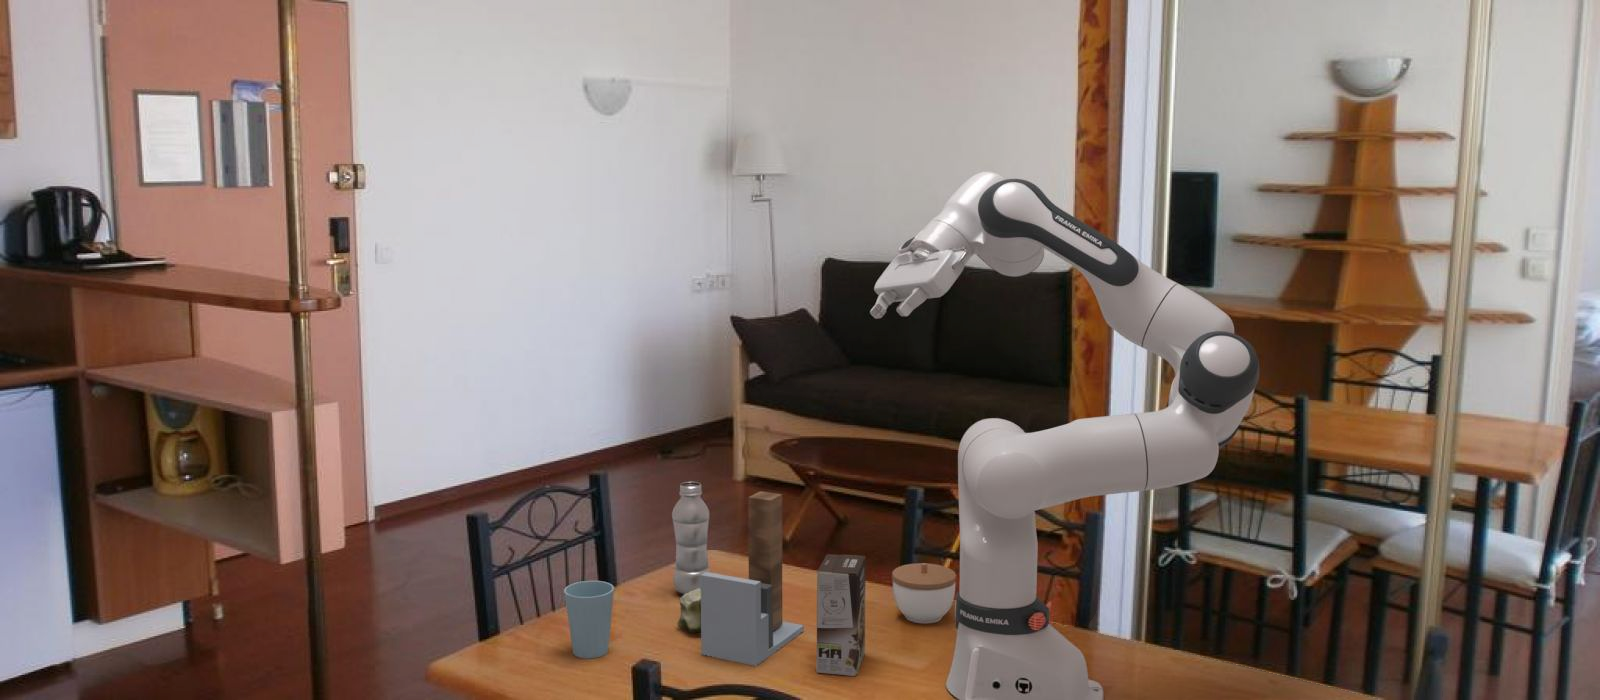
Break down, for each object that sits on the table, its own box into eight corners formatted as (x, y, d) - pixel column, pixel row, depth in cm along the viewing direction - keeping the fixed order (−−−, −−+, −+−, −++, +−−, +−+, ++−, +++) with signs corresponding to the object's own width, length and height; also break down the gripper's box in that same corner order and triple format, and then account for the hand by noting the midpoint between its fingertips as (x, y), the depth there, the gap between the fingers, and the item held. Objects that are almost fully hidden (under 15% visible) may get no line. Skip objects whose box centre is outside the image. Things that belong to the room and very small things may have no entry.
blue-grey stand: (803, 631, 206) (803, 555, 204) (756, 666, 192) (755, 584, 190) (751, 621, 210) (751, 546, 208) (701, 654, 196) (700, 574, 194)
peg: (782, 624, 205) (782, 494, 202) (770, 632, 202) (770, 500, 198) (761, 620, 207) (760, 491, 203) (749, 628, 203) (748, 497, 200)
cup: (622, 644, 200) (620, 581, 199) (605, 663, 193) (603, 598, 191) (577, 640, 202) (575, 578, 200) (559, 659, 194) (556, 595, 193)
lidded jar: (918, 601, 220) (919, 549, 218) (968, 616, 212) (969, 563, 211) (878, 617, 212) (879, 564, 210) (928, 634, 205) (929, 579, 203)
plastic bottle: (710, 599, 220) (709, 489, 217) (671, 599, 220) (669, 489, 217) (712, 586, 227) (711, 479, 224) (674, 587, 227) (673, 479, 224)
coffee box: (857, 677, 188) (858, 573, 185) (815, 673, 189) (815, 570, 186) (866, 653, 197) (867, 554, 194) (826, 650, 198) (826, 552, 195)
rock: (725, 647, 202) (717, 604, 200) (671, 646, 205) (663, 603, 203) (741, 617, 211) (734, 575, 208) (689, 616, 213) (681, 575, 211)
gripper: (985, 261, 193) (931, 326, 189) (923, 270, 212) (873, 329, 208) (958, 232, 191) (904, 297, 188) (898, 244, 210) (847, 303, 207)
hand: (887, 314), depth 198 cm, fingers open, 8 cm apart
